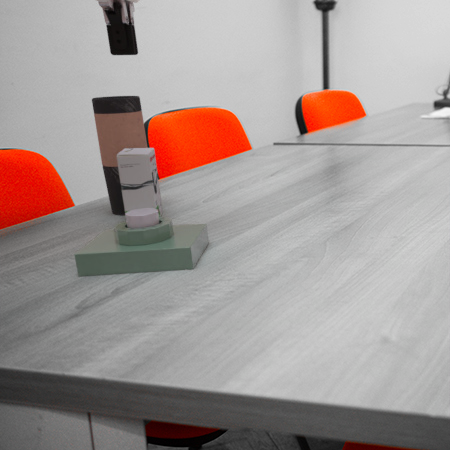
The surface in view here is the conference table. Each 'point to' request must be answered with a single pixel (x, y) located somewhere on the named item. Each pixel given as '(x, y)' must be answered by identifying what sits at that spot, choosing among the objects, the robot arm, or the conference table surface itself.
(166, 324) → the conference table surface
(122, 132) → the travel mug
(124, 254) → the green base with button
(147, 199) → the ink box
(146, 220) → the pump button
